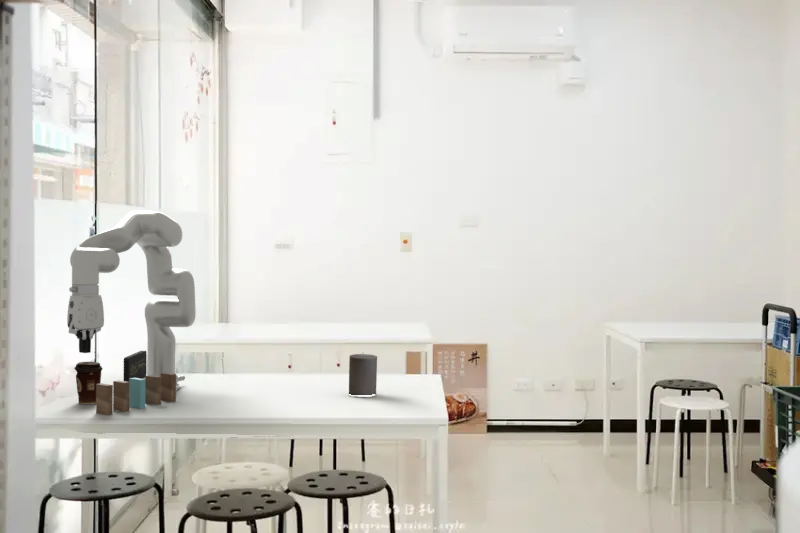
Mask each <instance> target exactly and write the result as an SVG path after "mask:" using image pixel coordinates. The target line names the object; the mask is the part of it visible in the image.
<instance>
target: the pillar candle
mask: <svg viewBox="0 0 800 533" xmlns="http://www.w3.org/2000/svg"><path fill="white" fill-rule="evenodd" d="M348 363H349V364H348V366H349V367H348V368H349V369H348V394H351V395H372V394H376V395H377V383H378V382H377V379H378V378H377V376H378V374H377V373H378V371H377V370H378V369H377V368H378V356H377V355H375V354H370V353H369V354H366V353H365V354H364V353H359V354H358V353H355V354H350V355H349V362H348Z"/></svg>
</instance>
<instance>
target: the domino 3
mask: <svg viewBox="0 0 800 533" xmlns="http://www.w3.org/2000/svg"><path fill="white" fill-rule="evenodd" d="M144 379H145V405H153V406H159V405H162V401H161V376H154V375H147V374H146V376H145V377H144Z"/></svg>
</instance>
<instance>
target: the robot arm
mask: <svg viewBox="0 0 800 533" xmlns="http://www.w3.org/2000/svg"><path fill="white" fill-rule="evenodd" d="M182 241H183V230H182V227H181V225H180V224H179V223H178V222H177V221H176V220H174V219H173V218H172V217H170V216H168V215H166V214H165V213H163V212H160V211H156V210H155V211H154V210H132V211H130V212H128V213H127V214H125V215H124V216H123V217H122V218H121V219H120V220H119V221H118V222H117V223H115V225H113V227H111V229H108V230H104V231H101V232H100V233H97V234H94V235H91V236H89V237H87V238H85V239H83V241H81V242H80V243H79V244H78V245H76V247H75V248H74V249H73V251H72V252H71V254H70V257H69V258H70V260H69V264H70V265H71V287H69V289H68V290H69V292H71V295H70V296H69V299H68V307H67V315H66V316H67V320H66V321H67V324H66V325H67V327H68V333H69V334H70V335H71V334H72V335H75V336H76V338H77V339H78V352H79V353H81V354H89V353H91V352H92V350H91V349H92V339H93V338H94V336H95V334H96V333H99V332H101V330H102V328H103V327H104V324H105V315H104V314H105V312H104V303H103V298H102V295H101V294H99V293H100V292H99V290H100V286H99V284H100V275H99V274H110V273H113V272H115V271H116V270H118V267H119V266H120V263H121V262H120V255H119V254H120V253H124V252H127V251H129V250H131V248H133V246H134V245H136V244H137V245H138V246H139V247H140V248H141V250H142V252H143V253H144V255H145V259H146V274H147V276H146V278H147V287H148V292H149V293H150V294H151V295H154V296H157V297H176V298H177V299H170V298H169V299H167V298H165V299H164V298H162V299H161V298H158V299H152V300H150V301H148V303H146V305H145V308H144V319H145V323H146V333H147V363H146V376H147V375H154V376H161V373H173V374H176V345H177V344H176V343H177V342H176V337H175V334H174V333H173V331H172V328H189V327H191V326H192V325H193V324H194V323H195V320H196V314H197V313H196V312H197V311H196V310H197V309H196V291H195V290H196V289H195V288H196V287H195V278H194V276H193V273H191V271H189V270H187V269H185V268H184V269H183V268H180V269H179V268H173V263H172V254H171V251H170V249H169V248H174V247H177V246H179V244H180V243H181V242H182ZM185 379H186V376H185V375H184V374H181V375H178V374H176V391H177V390H179V389H180V387H181V386H180V384H179V383H178V382H182V381H185Z"/></svg>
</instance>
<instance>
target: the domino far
mask: <svg viewBox="0 0 800 533" xmlns="http://www.w3.org/2000/svg"><path fill="white" fill-rule="evenodd" d="M95 407H96V408H95V411H96V412H95V414H96V413H97V415H102V416H103V415H104V416H112V415H113V414H114V413H113V412H114V410H113V384H110V383H103V382H100V384H96V404H95Z"/></svg>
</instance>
